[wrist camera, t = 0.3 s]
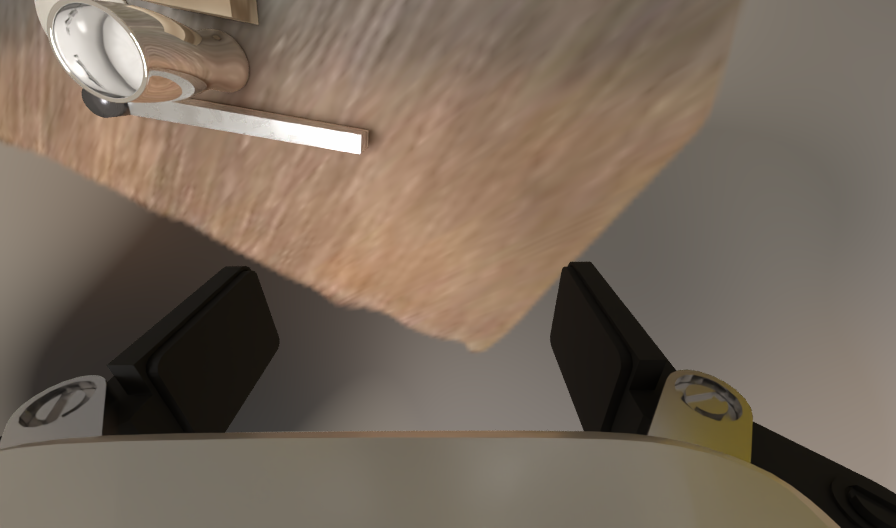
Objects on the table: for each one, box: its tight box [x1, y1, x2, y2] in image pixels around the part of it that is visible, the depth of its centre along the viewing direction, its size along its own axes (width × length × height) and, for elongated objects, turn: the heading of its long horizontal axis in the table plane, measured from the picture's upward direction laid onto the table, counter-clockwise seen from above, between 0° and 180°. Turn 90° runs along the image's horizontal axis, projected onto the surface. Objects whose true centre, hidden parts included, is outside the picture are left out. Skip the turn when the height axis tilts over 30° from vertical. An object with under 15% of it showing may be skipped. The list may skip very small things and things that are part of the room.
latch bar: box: [82, 88, 369, 154], centre depth 36 cm, size 3×28×5 cm, turn 80°
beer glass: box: [47, 0, 249, 103], centre depth 31 cm, size 7×7×15 cm
